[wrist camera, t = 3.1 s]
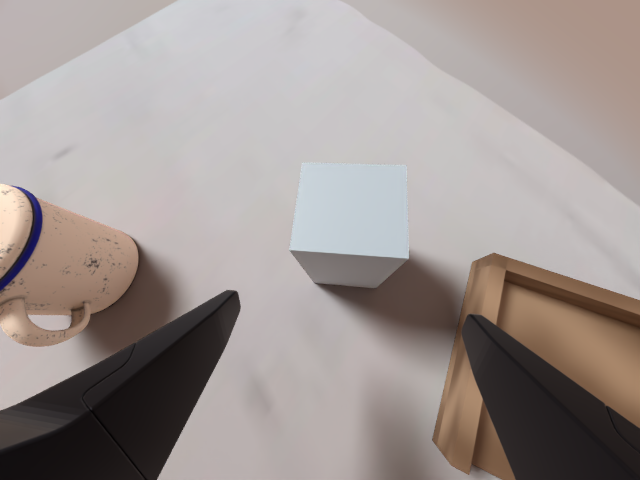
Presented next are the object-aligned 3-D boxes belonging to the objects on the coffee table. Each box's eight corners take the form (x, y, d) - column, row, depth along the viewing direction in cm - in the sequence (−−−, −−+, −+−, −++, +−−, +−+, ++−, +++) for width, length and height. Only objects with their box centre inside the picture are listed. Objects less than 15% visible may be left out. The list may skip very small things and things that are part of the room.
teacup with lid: (49, 259, 24) (-197, 209, 13) (129, 213, 25) (-37, 131, 14) (71, 368, 20) (-250, 426, 9) (165, 308, 21) (-25, 298, 10)
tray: (674, 562, 13) (762, 627, 11) (432, 440, 16) (451, 465, 13) (667, 328, 17) (731, 330, 14) (472, 262, 20) (493, 252, 17)
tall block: (375, 288, 20) (408, 258, 10) (314, 282, 21) (289, 250, 11) (377, 235, 22) (406, 165, 12) (319, 231, 22) (302, 162, 12)
